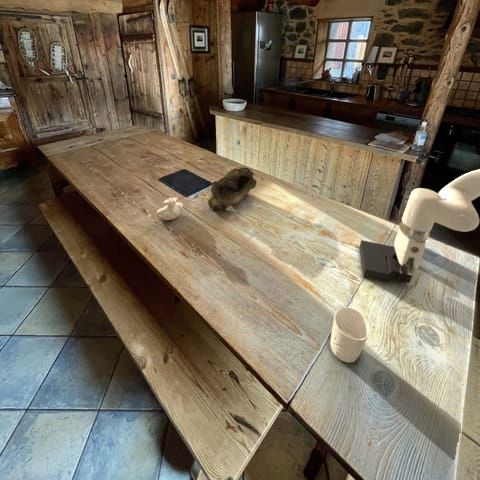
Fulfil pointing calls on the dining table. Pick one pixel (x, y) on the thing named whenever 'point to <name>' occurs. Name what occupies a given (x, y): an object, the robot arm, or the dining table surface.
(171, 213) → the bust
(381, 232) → the dining table surface
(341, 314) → the white cup
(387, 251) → the dark l-shaped block
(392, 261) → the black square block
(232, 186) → the hollow geode rock
